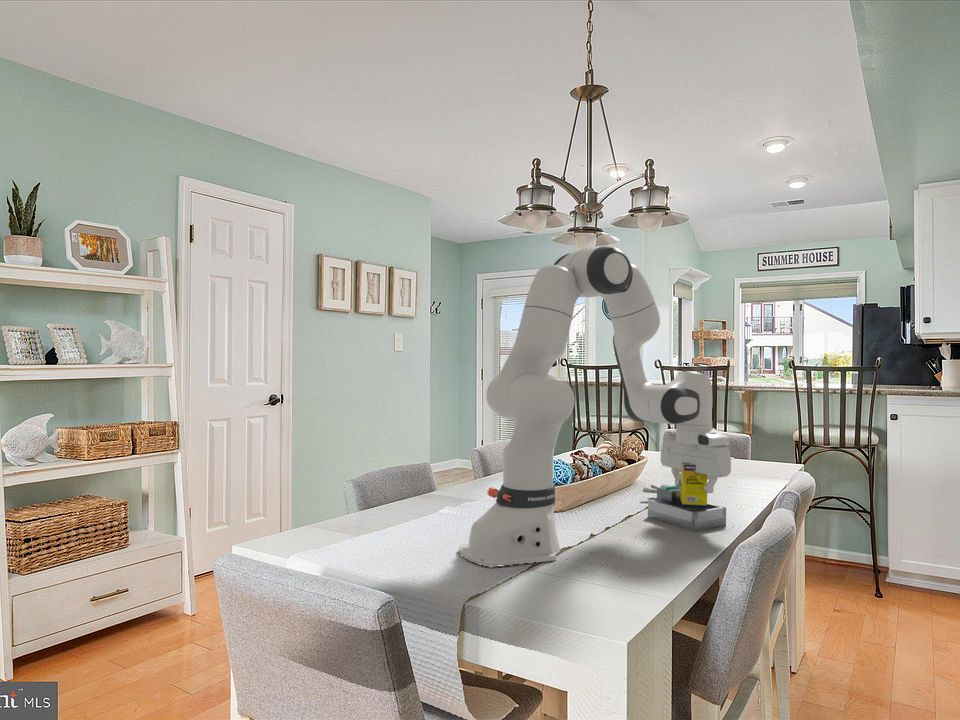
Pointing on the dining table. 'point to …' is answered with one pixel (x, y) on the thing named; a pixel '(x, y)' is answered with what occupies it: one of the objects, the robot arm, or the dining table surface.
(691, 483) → the supplement box
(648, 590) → the dining table surface
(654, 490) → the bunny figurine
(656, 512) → the tray
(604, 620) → the dining table surface
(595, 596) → the dining table surface
